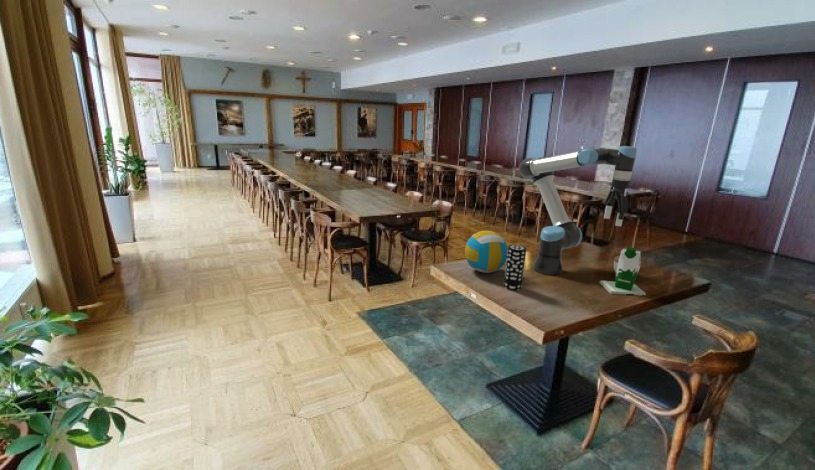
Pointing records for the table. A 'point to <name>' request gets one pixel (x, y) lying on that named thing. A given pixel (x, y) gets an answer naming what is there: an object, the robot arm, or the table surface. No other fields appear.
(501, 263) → the volleyball
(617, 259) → the lidded bowl
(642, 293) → the board
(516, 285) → the spotted tube
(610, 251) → the table surface
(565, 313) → the table surface
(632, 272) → the soya milk
